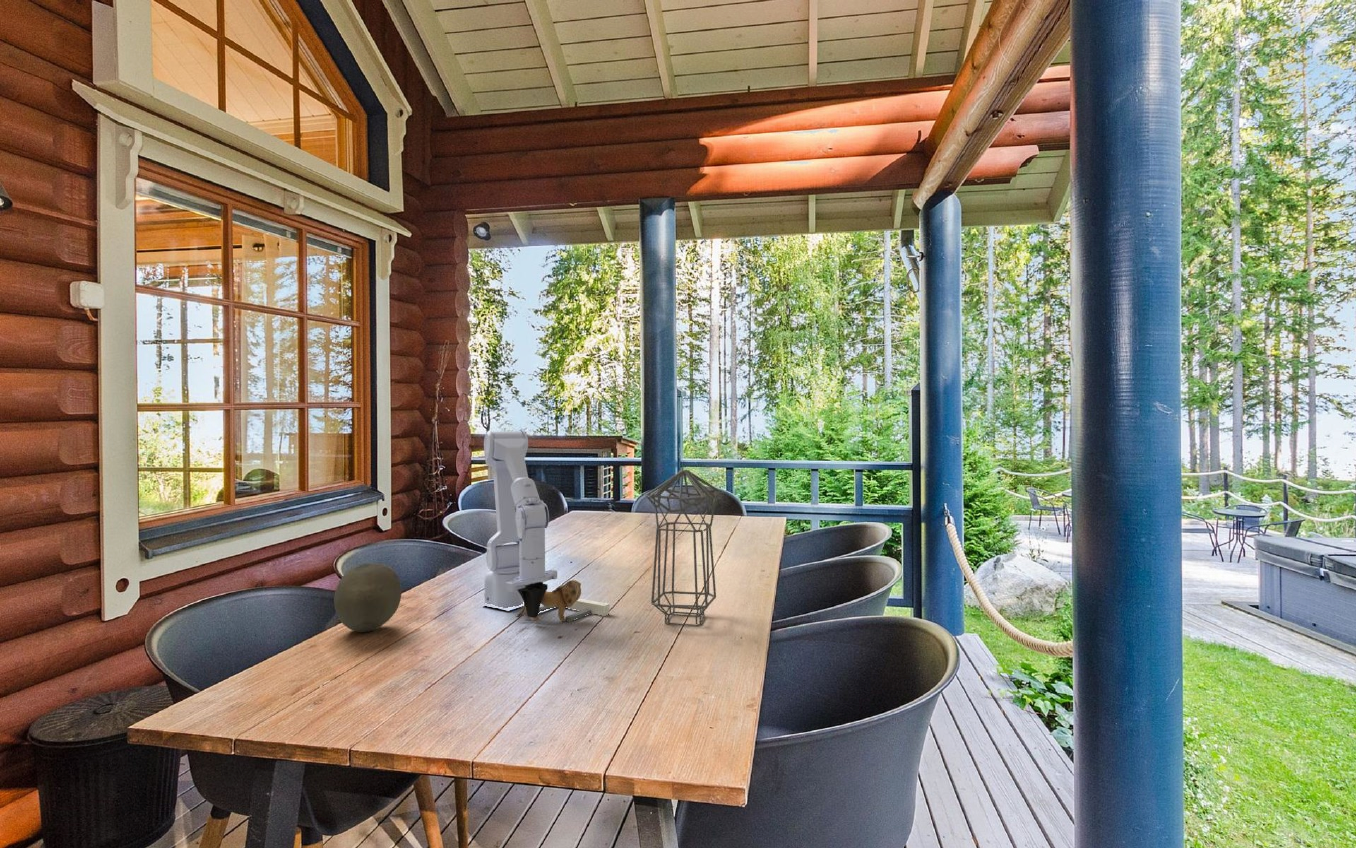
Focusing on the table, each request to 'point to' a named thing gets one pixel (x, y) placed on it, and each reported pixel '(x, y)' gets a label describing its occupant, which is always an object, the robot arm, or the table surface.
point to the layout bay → (585, 608)
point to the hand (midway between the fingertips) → (532, 616)
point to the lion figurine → (559, 598)
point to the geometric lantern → (702, 497)
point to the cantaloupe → (367, 596)
